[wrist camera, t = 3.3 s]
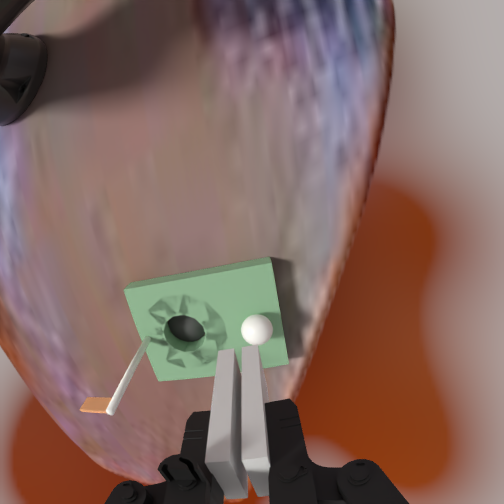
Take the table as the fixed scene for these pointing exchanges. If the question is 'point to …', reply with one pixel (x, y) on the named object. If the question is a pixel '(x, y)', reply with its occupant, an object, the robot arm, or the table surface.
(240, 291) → the green
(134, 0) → the table surface
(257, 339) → the ball
